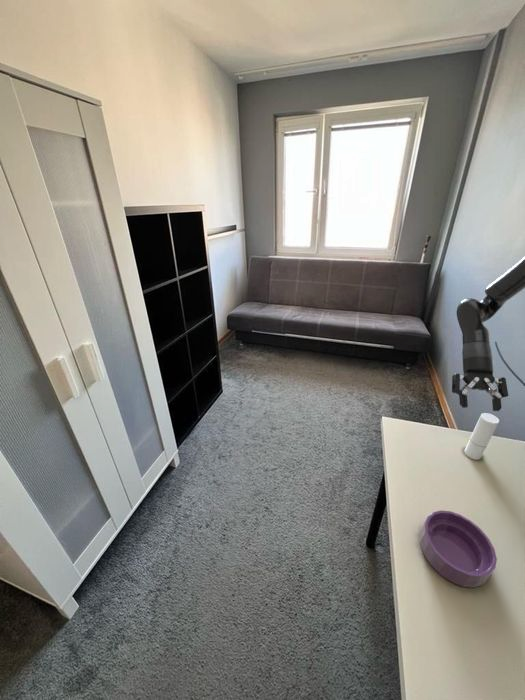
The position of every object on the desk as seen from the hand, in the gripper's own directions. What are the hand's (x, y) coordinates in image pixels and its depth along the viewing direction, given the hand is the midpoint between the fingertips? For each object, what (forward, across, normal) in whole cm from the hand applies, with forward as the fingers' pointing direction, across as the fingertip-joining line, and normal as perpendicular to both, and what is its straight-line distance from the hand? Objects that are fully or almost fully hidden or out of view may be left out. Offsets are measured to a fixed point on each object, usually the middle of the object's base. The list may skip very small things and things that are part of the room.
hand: (480, 409), depth 85 cm
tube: (+14, 0, -6) cm, 15 cm away
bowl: (+36, +16, +17) cm, 43 cm away
